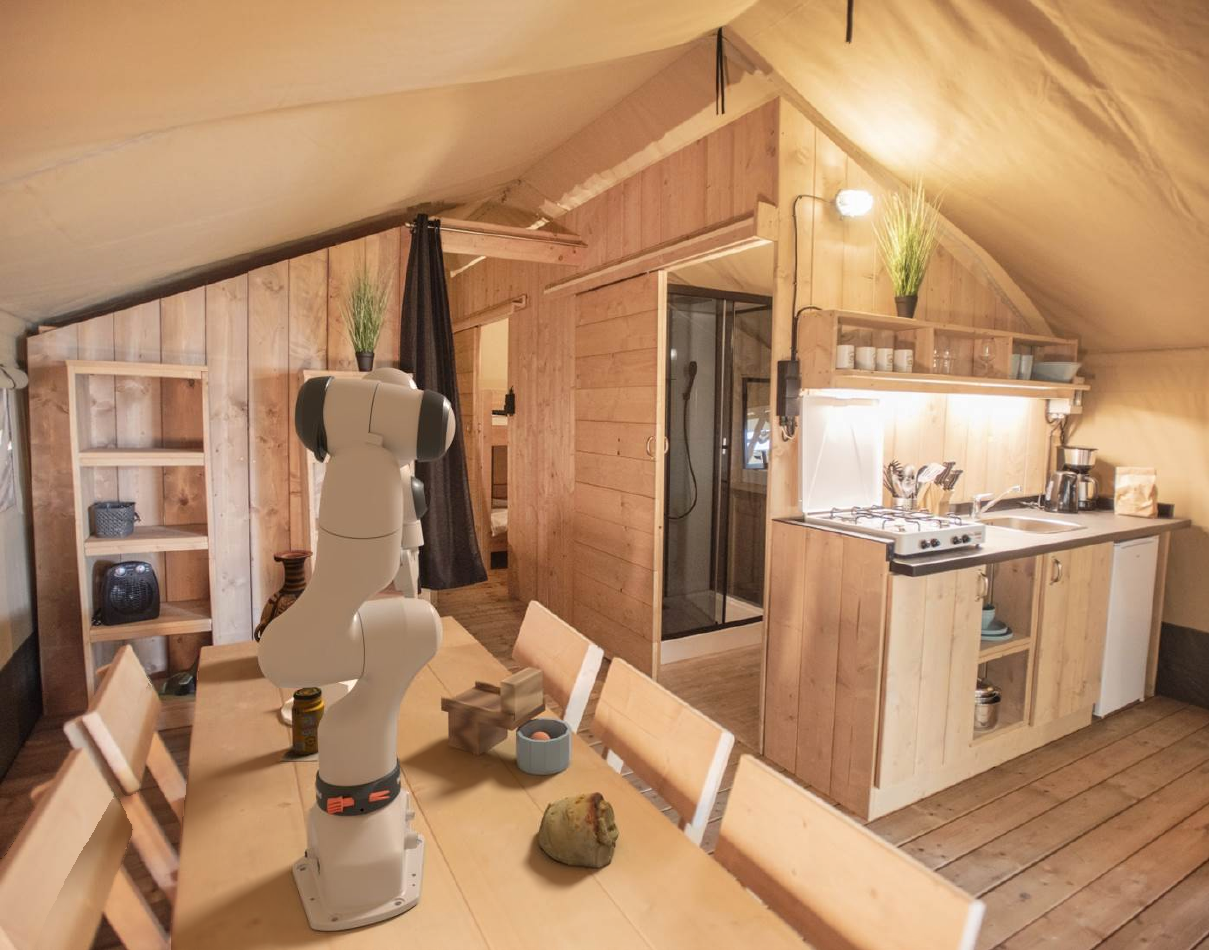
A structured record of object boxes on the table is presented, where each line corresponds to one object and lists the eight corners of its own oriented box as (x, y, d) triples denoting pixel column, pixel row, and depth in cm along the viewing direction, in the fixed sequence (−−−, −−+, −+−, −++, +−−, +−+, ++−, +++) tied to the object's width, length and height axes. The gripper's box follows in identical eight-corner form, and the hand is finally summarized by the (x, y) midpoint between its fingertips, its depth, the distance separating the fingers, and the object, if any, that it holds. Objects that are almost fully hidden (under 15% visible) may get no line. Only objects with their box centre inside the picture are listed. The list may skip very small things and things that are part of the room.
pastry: (632, 862, 105) (632, 811, 105) (551, 881, 101) (551, 827, 101) (601, 813, 119) (601, 767, 118) (528, 827, 114) (528, 780, 114)
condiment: (332, 741, 144) (331, 684, 143) (317, 761, 136) (315, 701, 135) (296, 741, 144) (294, 684, 143) (279, 761, 136) (276, 701, 135)
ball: (552, 754, 134) (552, 730, 136) (529, 755, 133) (529, 731, 135) (549, 756, 138) (549, 732, 140) (527, 757, 137) (527, 733, 139)
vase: (330, 645, 204) (327, 543, 201) (346, 664, 189) (343, 554, 187) (248, 660, 192) (244, 551, 189) (259, 680, 177) (254, 563, 174)
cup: (578, 769, 133) (578, 736, 132) (525, 779, 129) (525, 745, 128) (560, 745, 142) (560, 714, 142) (511, 754, 138) (510, 723, 138)
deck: (441, 746, 142) (441, 697, 141) (477, 726, 151) (476, 680, 150) (512, 769, 133) (511, 717, 132) (545, 746, 142) (545, 697, 141)
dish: (412, 688, 173) (411, 643, 172) (368, 733, 148) (367, 682, 147) (317, 684, 176) (316, 640, 175) (258, 728, 151) (256, 677, 150)
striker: (500, 716, 135) (500, 681, 134) (528, 700, 143) (528, 667, 142) (515, 720, 133) (514, 684, 133) (542, 704, 141) (542, 670, 140)
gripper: (414, 540, 136) (424, 611, 136) (419, 535, 156) (428, 597, 156) (380, 545, 134) (391, 617, 134) (389, 540, 154) (399, 602, 154)
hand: (411, 606), depth 145 cm, fingers closed
